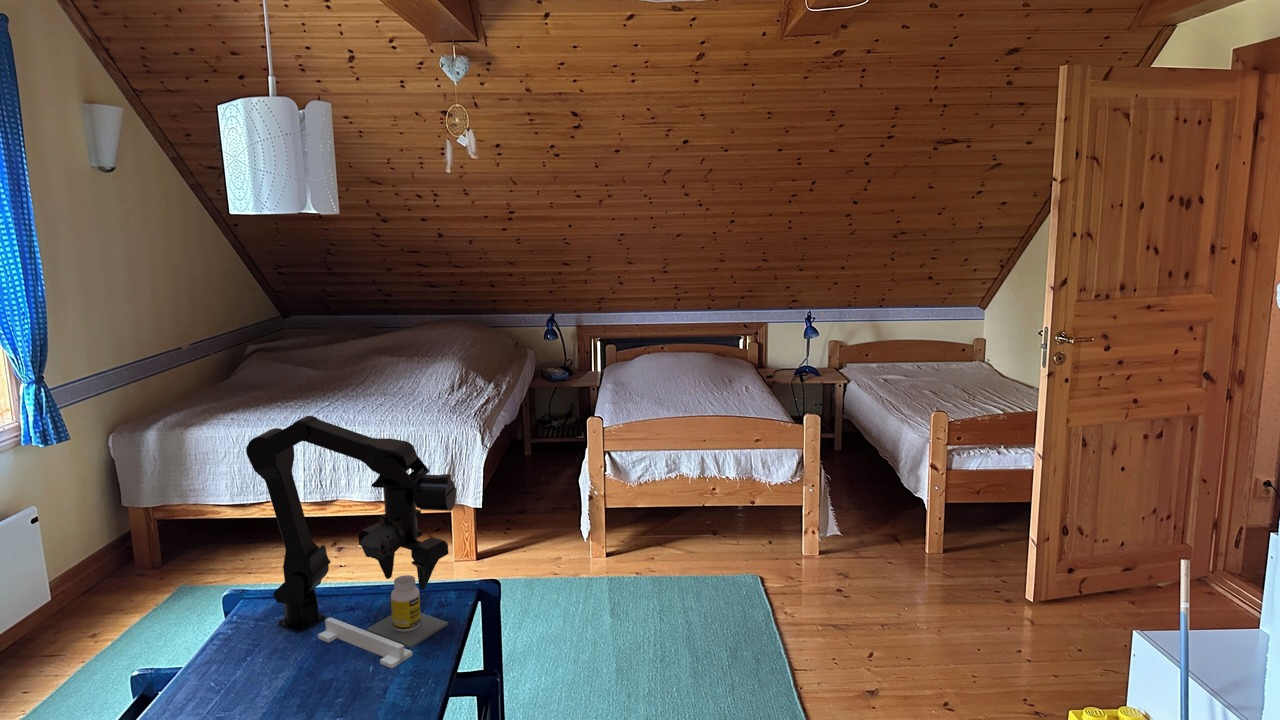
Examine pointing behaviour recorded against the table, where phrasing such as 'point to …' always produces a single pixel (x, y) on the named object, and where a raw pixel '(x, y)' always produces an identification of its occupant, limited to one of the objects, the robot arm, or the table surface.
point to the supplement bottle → (405, 604)
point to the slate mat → (411, 637)
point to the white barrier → (366, 642)
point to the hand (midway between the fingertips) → (405, 583)
